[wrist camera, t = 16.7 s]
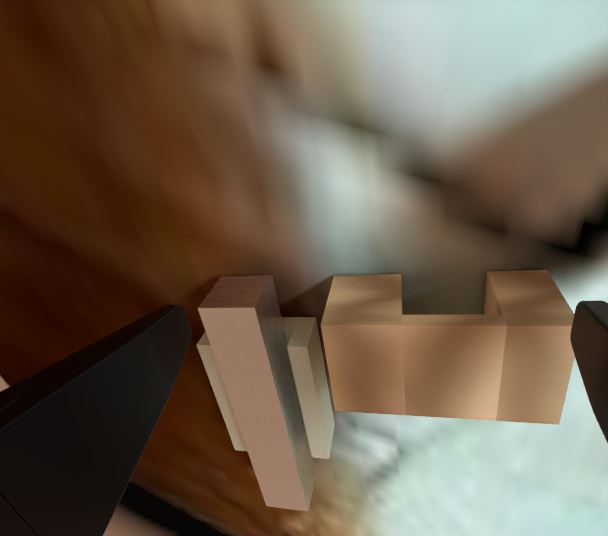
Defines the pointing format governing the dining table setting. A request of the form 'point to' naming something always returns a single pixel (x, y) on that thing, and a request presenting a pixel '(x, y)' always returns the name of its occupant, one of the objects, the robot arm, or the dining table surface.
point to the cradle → (307, 380)
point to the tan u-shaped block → (450, 351)
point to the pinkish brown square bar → (261, 385)
